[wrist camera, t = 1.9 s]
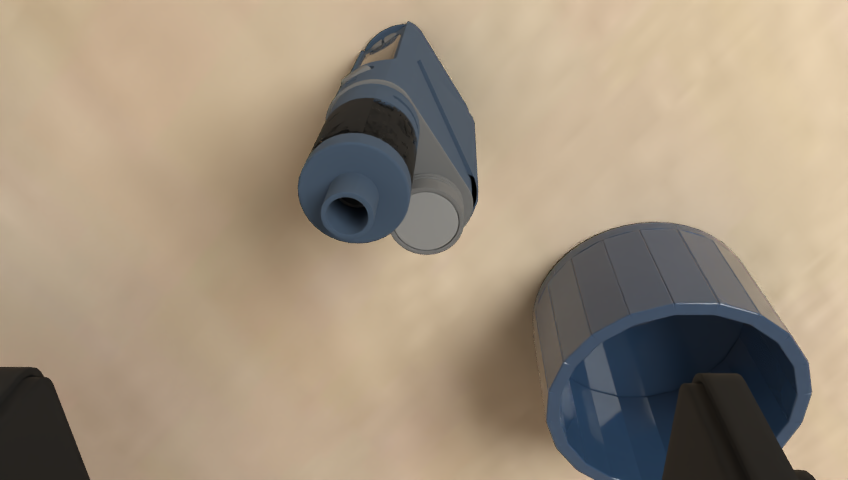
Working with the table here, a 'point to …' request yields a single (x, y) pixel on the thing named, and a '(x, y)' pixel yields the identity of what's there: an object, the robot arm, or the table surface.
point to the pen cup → (654, 344)
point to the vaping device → (394, 151)
